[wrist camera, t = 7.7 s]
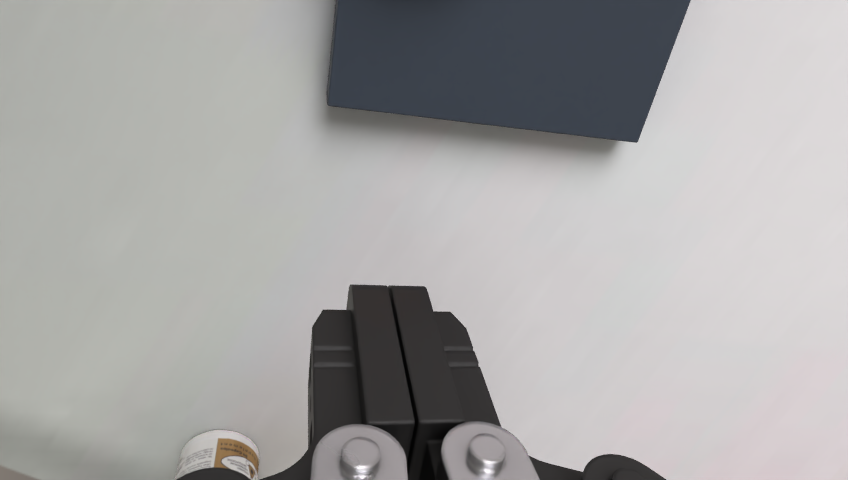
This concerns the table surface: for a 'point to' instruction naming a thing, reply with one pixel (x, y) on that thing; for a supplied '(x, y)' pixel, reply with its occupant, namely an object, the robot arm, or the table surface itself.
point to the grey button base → (506, 61)
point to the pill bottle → (219, 453)
